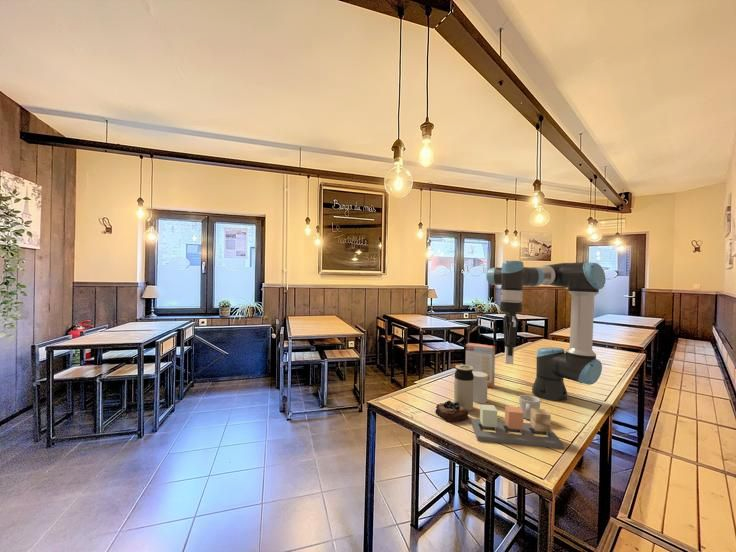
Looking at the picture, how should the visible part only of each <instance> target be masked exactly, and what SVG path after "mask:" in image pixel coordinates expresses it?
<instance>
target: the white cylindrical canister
mask: <svg viewBox="0 0 736 552" xmlns="http://www.w3.org/2000/svg"><path fill="white" fill-rule="evenodd" d="M472 373H473V375H474V383H473V403H476V404H485V403H487V402H488V387H487V380H488V375H487V374H486V373H483V372H478V371H473V372H472Z"/></svg>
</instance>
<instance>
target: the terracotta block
mask: <svg viewBox="0 0 736 552" xmlns="http://www.w3.org/2000/svg"><path fill="white" fill-rule="evenodd" d="M524 419H525V418H524V413H523V412H522V410H521V409H520V406H519V407H518V406H509V405H508V406H507V405H505V406H504V421H505V423H506V425H507V427H508V428H509V429H521V430H523V423H524Z"/></svg>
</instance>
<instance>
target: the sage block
mask: <svg viewBox="0 0 736 552" xmlns="http://www.w3.org/2000/svg"><path fill="white" fill-rule="evenodd" d="M479 404H480V405H479V419H480V422H481V424H482V426H486V427H497V421H498V410H497V407H495V405H494V404H483V403H479Z"/></svg>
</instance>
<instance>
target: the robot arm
mask: <svg viewBox="0 0 736 552" xmlns="http://www.w3.org/2000/svg"><path fill="white" fill-rule="evenodd" d="M486 281H487V282H488V284H490V285H494V286H500V291H499V295H500V300H501V301H500V309H499V310H500V312H503V313H505V315H504V316H503V318H502V321H503V343H504V364H506V365H514V353H515V352H514V351H515V350H514V349H515V347H516V344H517V335H518V327H519V321H518V317H517V313H519V314H520V313H523V312H522V311H523V303H522V302H523V293H524V292H523V290H524V289H523V287H530V288H531V287H532V288H535V287H538V286H541V285H543V286H553V287H558V288H567V291H568V293H569V294H570V295H571V304H570V305H571V306H570V307H571V309H570V324H569V325H570V329H569V333H570V334H569V347H568V348H567V349H564V348H562V347H555V346H554V347H553V346H551V347H550V346H548V347H547V346H546V347H540V348H538V349H537V350H536V356H535V358H536V373H535V375H536V376H535V379H534V382H533V385H532V387H531V393H532V394H533V396H534V395H535V397H537V398H541V399H544V400H550V401H555V402H557V401H559V402H560V401H566V400H567V399H568V392H567V388H566V384H565V382H564V379H567V380H568V381H569V380H570V381H572V382H577V383H579V384H584V385H589V386H591V385H594V384H596V383H597V382H598V380H599V378H600V377H601V374H602V370H603V364H602V362H601V361H600V360H599V359H597V353H595V351H594V350H593V344H594V342H593V340H594V338H593V337H594V316H595V315H594V314H595V296H597V295H599V294H600V290H601V289H603V288H604V287H605V284H606V273H605V271H604V268H603V267H602V266H601V265H600V264H599V263H597V262H591V261H590V262H588V261H587V262H583V261H582V262H561V263H554V264H543V265H541V266H539V267H538V266H537V267H534V266H533V267H532V266H530V267H529V266H524V262H523V261H521V260H505V261H503V262H502V264H501V267H496V266H495V267H491V268H489V269H488V270H487V272H486Z"/></svg>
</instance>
